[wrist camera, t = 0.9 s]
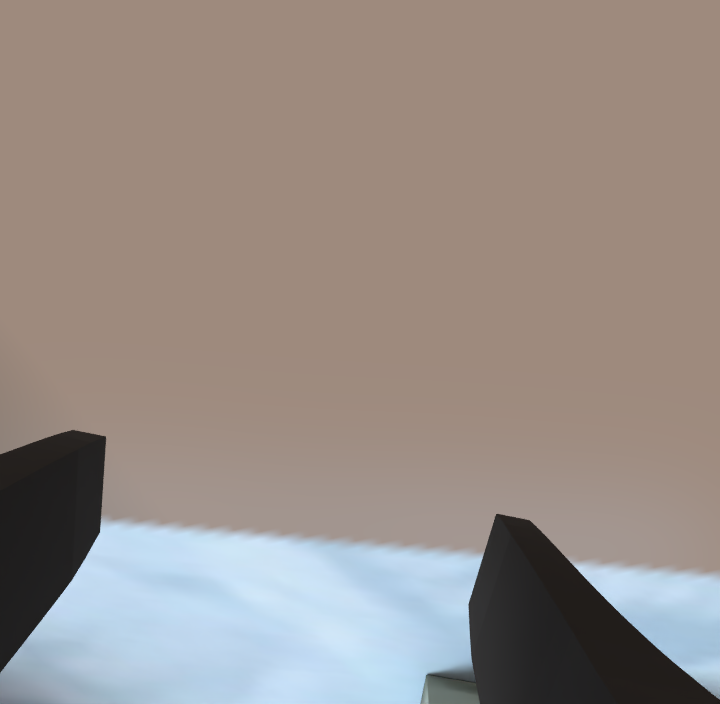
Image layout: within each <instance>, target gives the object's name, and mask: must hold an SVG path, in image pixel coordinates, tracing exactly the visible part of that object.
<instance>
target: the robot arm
mask: <svg viewBox="0 0 720 704" xmlns="http://www.w3.org/2000/svg"><path fill="white" fill-rule="evenodd" d="M105 445H106V437H105V436H100V435H96V434H90V433H85V432H80V431H75V430H71V431H67V432H64V433H60V434H57V435H54V436H51V437H48V438H45V439H42V440H39V441H36V442H33V443H31V444H28V445H25V446H23V447H20V448H17V449H14V450H12V451H9V452H6V453H3V454H0V672H1V671H2V670H3V669H4V667H5V666H6V665H7V663H8V662H9V661H10V660H11V658H12V657H13V656H14V654H15V653H16V652H17V651H18V649H19V648H20V647H21V646H22V644H23V643H24V642H25V640H26V639H27V638H28V637H29V635H30V634H31V633H32V631H33V630H34V629H35V628H36V626H37V625H38V624H39V623H40V621H41V620H42V619H43V617H44V616H45V615H46V613H47V612H48V611H49V610H50V608H51V607H52V606H53V604H54V603H55V602H56V600H57V599H58V598H59V597H60V595H61V594H62V593H63V591H64V590H65V589H66V587H67V586H68V585H69V583H70V582H71V581H72V579H73V578H74V576H75V574H76V573H77V571H78V569H79V568H80V566H81V564H82V563H83V561H84V559H85V558H86V556H87V554H88V552H89V551H90V549H91V547H92V545H93V543H94V542H95V540H96V538H97V536H98V535H99V533H100V524H101V507H102V491H103V476H104V461H105ZM469 624H470V642H471V656H472V663H473V669H474V675H475V680H476V686H477V691H478V697H479V702H480V704H720V700H719V699H718V698H717V697H715V696H714V695H713V694H711V693H710V692H709V691H708V690H706V689H705V688H704V687H703V686H702V685H700V684H699V683H698V682H697V681H696V680H694V679H693V678H692V677H691V676H689V675H688V674H687V673H686V672H685V671H683V670H682V669H681V668H680V667H678V666H677V665H676V664H675V663H674V662H672V661H671V660H670V659H669V658H668V657H667V656H665V655H664V654H663V653H662V652H661V651H660V650H659V649H657V648H656V647H655V646H654V645H653V644H652V643H651V642H650V641H649V640H648V639H647V638H645V637H644V636H643V635H642V634H641V633H640V632H639V631H638V630H637V629H636V628H635V627H634V626H633V625H632V624H631V623H629V622H628V621H627V620H626V619H625V618H624V617H623V616H622V615H621V614H620V613H619V612H618V611H617V610H616V609H615V608H614V607H613V606H612V605H611V604H610V603H609V602H608V601H607V600H606V599H605V598H604V597H603V596H602V595H601V594H600V593H599V592H598V591H597V590H596V589H595V588H594V587H593V586H592V585H591V584H590V583H589V582H588V581H587V580H586V578H585V577H584V576H583V575H582V574H581V573H580V572H579V571H578V570H577V569H576V568H575V567H574V566H573V565H572V564H571V563H570V561H569V560H568V559H567V558H566V557H565V556H564V555H563V554H562V553H561V552H560V551H559V550H558V549H557V548H556V546H554V544H553V543H551V541H550V540H549V539H548V538H547V537H546V536H545V535H544V534H543V533H542V532H541V531H540V530H539V529H538V528H537V527H536V526H535V525H534V524H533V523H532V522H531V521H530V520H525V519H520V518H516V517H510V516H505V515H500V514H496V516H495V520H494V523H493V526H492V530H491V533H490V536H489V539H488V543H487V546H486V549H485V552H484V556H483V559H482V562H481V566H480V569H479V572H478V575H477V579H476V582H475V585H474V588H473V592H472V595H471V598H470V601H469Z"/></svg>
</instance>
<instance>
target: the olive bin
mask: <svg viewBox="0 0 720 704" xmlns="http://www.w3.org/2000/svg"><path fill="white" fill-rule="evenodd" d="M421 704H480V702H479V697H478V691H477V686H476V683H473V682H467V681H461V680H455V679H448V678H442V677H436V676H430V675H426V679H425V684H424V689H423V694H422V699H421Z"/></svg>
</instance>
